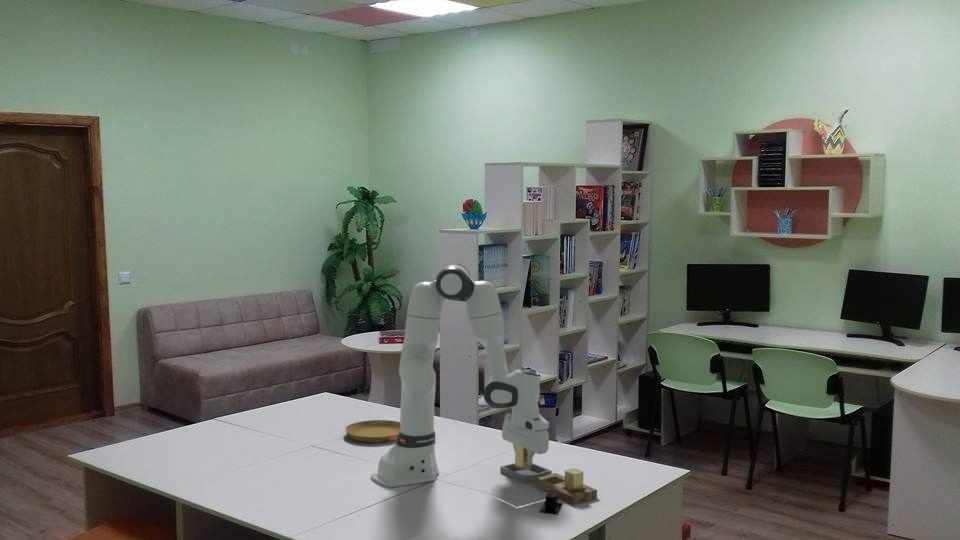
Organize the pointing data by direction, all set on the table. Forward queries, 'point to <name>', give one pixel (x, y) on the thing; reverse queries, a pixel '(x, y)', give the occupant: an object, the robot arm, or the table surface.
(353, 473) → the table surface
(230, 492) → the table surface
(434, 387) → the robot arm
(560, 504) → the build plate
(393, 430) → the plant saucer
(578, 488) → the block
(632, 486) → the table surface
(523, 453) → the block
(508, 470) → the shallow grey tray
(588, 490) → the pallet
